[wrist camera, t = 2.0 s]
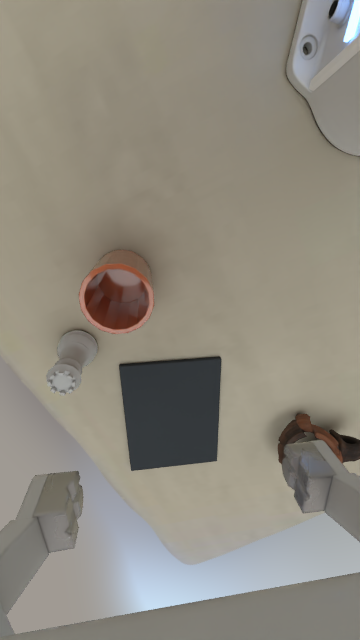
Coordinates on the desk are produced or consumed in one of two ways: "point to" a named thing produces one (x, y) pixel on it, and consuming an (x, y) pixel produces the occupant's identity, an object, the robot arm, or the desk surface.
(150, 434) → the mat
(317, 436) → the dark brown domed piece
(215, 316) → the desk surface
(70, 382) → the rook chess piece
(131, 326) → the pot
